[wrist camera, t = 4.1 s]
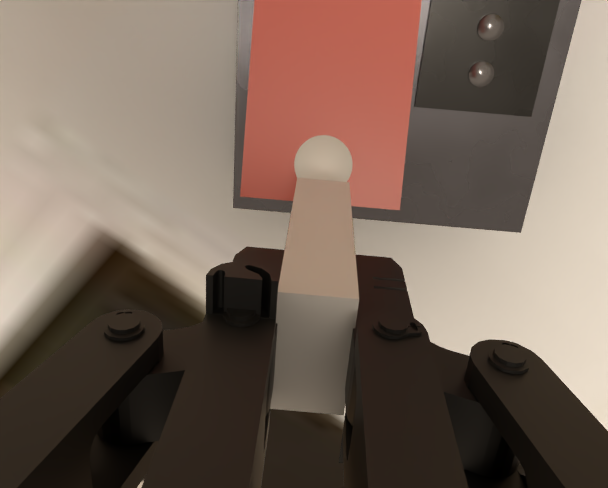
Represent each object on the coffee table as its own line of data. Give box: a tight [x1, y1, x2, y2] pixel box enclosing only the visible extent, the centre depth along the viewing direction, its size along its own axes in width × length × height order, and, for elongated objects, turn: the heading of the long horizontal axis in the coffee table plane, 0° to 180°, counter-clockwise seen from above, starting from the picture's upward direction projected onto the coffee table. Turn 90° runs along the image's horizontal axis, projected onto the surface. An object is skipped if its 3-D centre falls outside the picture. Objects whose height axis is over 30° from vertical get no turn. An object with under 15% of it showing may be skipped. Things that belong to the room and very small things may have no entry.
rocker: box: [240, 0, 422, 210], centre depth 18 cm, size 10×5×2 cm, turn 176°
